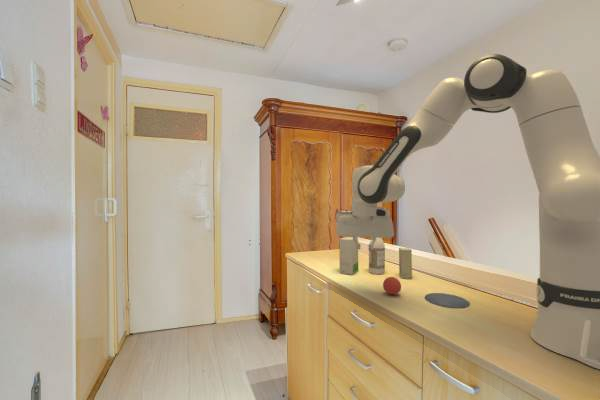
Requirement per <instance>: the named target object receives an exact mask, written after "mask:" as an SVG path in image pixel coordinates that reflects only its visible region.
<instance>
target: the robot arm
mask: <svg viewBox="0 0 600 400" xmlns="http://www.w3.org/2000/svg"><path fill="white" fill-rule="evenodd" d="M436 85H437V86H435V87H434V89H433V90H432V91H431V92H430V93H429V95H428V96H427V97H426V98H425V100H424V101H423V103H421V105H420V107H419V108H418V110H417V111H416V113H415V114H414V115H413V117H412V118H411V120H410V121H409V123H407V125H406V126H405V127H404V128H403V129H402V130H401V131H400V132H399V133H398V134H397V136H395V138H394V139H393V140H392V141H391V143H390V144H389V145H388V147H386V149H385V150H384V151H383V153H382V155H381V156H380V157H379V158H378V159H377V161H376V162H375V163H374V164H367V165H361V166H358V167H356V168H355V169H354V171H353V174H352V181H351V192H352V200H351V210H340V211H338V212H337V213H336V214H335V221H336V228H335V233H336V235H337V236H339V237H352V238H353V241H354V243H355V244H356V249H358V250H361V243H359V241H358V242H357V240H356V239H357V238H359V237H360V238H371V239H372V240H373V242H372V244H368V245H367V247H368V248H367V249H368V251H369V250H373V244H374V243H375V241H376V238H381V239H393V237H394V236H395V233H394V232H395V231H394V230H395V229H394V222H393V220H392V218H391V217H390V215H391V211H390V210H389V209H387V208H383V207H380V206H378V204H379V203H391V202H396V201H398V200H399V199H401V198H402V197H403V195H404V194H405V188H406V186H405V181H404V179H402V177H400V176H398V175H396V174H395V173H396V172H398V169H400V167H401V166H402V165H403V163H404V162H405V161H406V160H407V158H409V157H410V156H411V155H412V154H413V153H415V152H417V151H420V150H422V149H426V148H429V147H434V146H436V145H437V144H439V143H440V142H441V141H442V140H443V139H445V137H446V136H447V135H448V134H449V133H450V131H451V130H452V129H453V127H454V126H455V124H457V122H458V121H459V120H460V118H461V117H462V115H463V114H464V113H465V112H466V111H467V112H468V110H470V109H471V111H473V112H482V113H490V114H498V113H502V112H507V111H508V110H510V109H511V108H512V110H513V111H514V115H515V116H516V119H517V123H518V127H519V131H520V133H521V138H522V141H523V144H524V149H525V152H526V155H527V159H528V162H529V164H530V167H531V170H532V173H533V177H534V180H535V183H536V186H537V190H538V193H539V194H538V228H539V229H538V230H539V234H538V235H539V236H538V237H539V277H538V278H537V280H536V281H537V282H536V301H537V303H538V304H537V310H536V311H537V312H536V316H535V320H534V324H533V327H532V329H531V332H530V337H531V339H532V340H533V341H534V342H536V343H537V344H538V345H540V346H542V347H544V348H545V349H548V350H549V351H552V352H555V353H557V354H559V355H562V356H565V357H568V358H571V359H574V360H576V361H578V362H581V363H583V364H586V366H589V367H592V368H595V369H596V370H600V155H599V153H598V151H597V148H596V146H595V144H594V142H593V140H592V138H591V135H590V131H589V129H588V125H587V120H586V118H585V115H584V112H583V109H582V106H581V102H580V101H579V98H578V94H577V93H576V91H575V89H574V87H573V85H572V84H571V82H570V80H569V79H568V78H567V76H566V75H565V74H564V73H563V72H562V71H561V70H558V69H544V70H540V71H537V72H534V73H531V74H527V68H525V67H524V66H523V65H521V64H519V63H518V62H516V61H515V60H513V59H512V58H510V57H508V56H506V55H503V54H499V53H490V54H486V55H483V56H481V57H480V58H478V59H476V60H475V61H473V63H472V64H471V65H470V66H468V69H467V71H466V72H465V76H464V79H462V78H459V77H447V78H444V79H442V80H441V81H440V82H439V83H438V84H436Z"/></svg>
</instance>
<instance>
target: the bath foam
mask: <svg viewBox="0 0 600 400" xmlns="http://www.w3.org/2000/svg"><path fill="white" fill-rule="evenodd" d="M372 242H373V240H372V238H371V239H370V241H369V244H372ZM369 244H368V245H369ZM385 271H386V247H385V242H384V240H383V238H376V241H375V243H374V244H373V250H368V273H370V274H373V275H384V274H385Z"/></svg>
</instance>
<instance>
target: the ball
mask: <svg viewBox="0 0 600 400" xmlns="http://www.w3.org/2000/svg"><path fill="white" fill-rule="evenodd" d="M382 286H383V287H382V288H383V290H384V292H385V293H387V294H389V295H390V296H391V295H392V296H394V295H395V296H396V295H397V294H399V293H400V292H401V289H402V284H401V282H400V280H399V279H398V278H397V277H394V276H388V277H386V278H385V279H384V280H383V283H382Z"/></svg>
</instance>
